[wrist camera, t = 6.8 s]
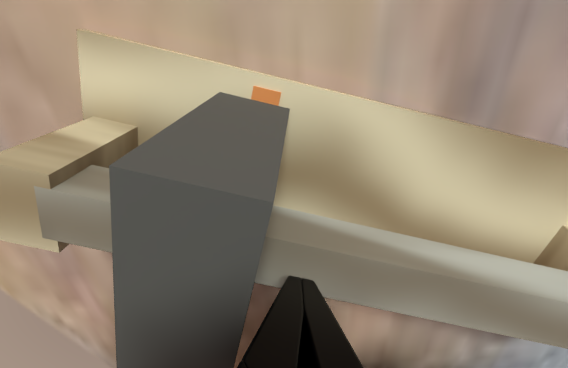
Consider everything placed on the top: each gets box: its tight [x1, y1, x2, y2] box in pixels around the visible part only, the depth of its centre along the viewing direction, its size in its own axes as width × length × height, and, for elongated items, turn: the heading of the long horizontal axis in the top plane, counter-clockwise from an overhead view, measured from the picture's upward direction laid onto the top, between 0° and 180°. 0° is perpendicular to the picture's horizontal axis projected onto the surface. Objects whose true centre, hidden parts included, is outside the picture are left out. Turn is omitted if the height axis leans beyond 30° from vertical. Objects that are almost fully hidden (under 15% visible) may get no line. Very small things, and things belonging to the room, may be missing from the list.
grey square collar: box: [109, 92, 290, 368], centre depth 11 cm, size 8×3×8 cm, turn 167°
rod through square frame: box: [0, 29, 568, 349], centre depth 13 cm, size 10×26×6 cm, turn 77°
